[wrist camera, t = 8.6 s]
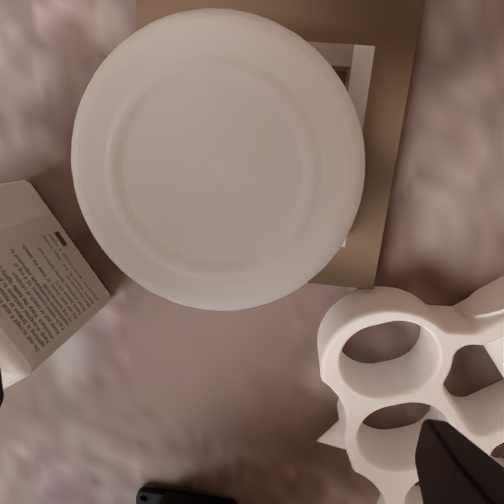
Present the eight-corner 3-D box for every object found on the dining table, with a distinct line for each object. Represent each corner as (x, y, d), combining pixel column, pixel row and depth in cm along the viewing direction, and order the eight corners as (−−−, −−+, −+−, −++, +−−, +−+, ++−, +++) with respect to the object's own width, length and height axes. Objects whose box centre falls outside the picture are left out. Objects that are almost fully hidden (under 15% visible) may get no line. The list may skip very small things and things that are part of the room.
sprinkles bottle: (246, 211, 20) (156, 361, 7) (200, 123, 19) (-2, 105, 6) (333, 168, 19) (421, 248, 6) (290, 73, 18) (283, -80, 5)
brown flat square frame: (370, 283, 21) (378, 300, 19) (143, 259, 22) (127, 273, 20) (420, -4, 17) (437, -23, 15) (143, -19, 18) (123, -39, 16)
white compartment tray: (653, 464, 23) (415, 555, 26) (505, 199, 20) (256, 343, 23) (712, 519, 20) (431, 614, 23) (546, 212, 16) (250, 377, 20)
